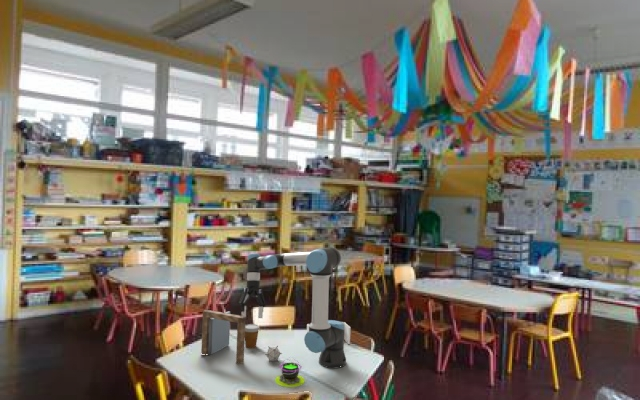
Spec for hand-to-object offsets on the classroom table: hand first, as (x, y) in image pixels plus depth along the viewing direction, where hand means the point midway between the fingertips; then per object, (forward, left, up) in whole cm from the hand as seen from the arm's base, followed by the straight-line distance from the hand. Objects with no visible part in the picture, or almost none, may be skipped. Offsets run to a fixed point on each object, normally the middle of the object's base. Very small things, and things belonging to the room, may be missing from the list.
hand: (252, 318), depth 262 cm
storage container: (+5, -50, -21) cm, 55 cm away
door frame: (-3, +17, -21) cm, 27 cm away
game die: (-14, -9, -21) cm, 27 cm away
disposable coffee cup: (+12, -3, -21) cm, 24 cm away
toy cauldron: (-40, -10, -21) cm, 46 cm away
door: (+10, +17, -20) cm, 28 cm away
